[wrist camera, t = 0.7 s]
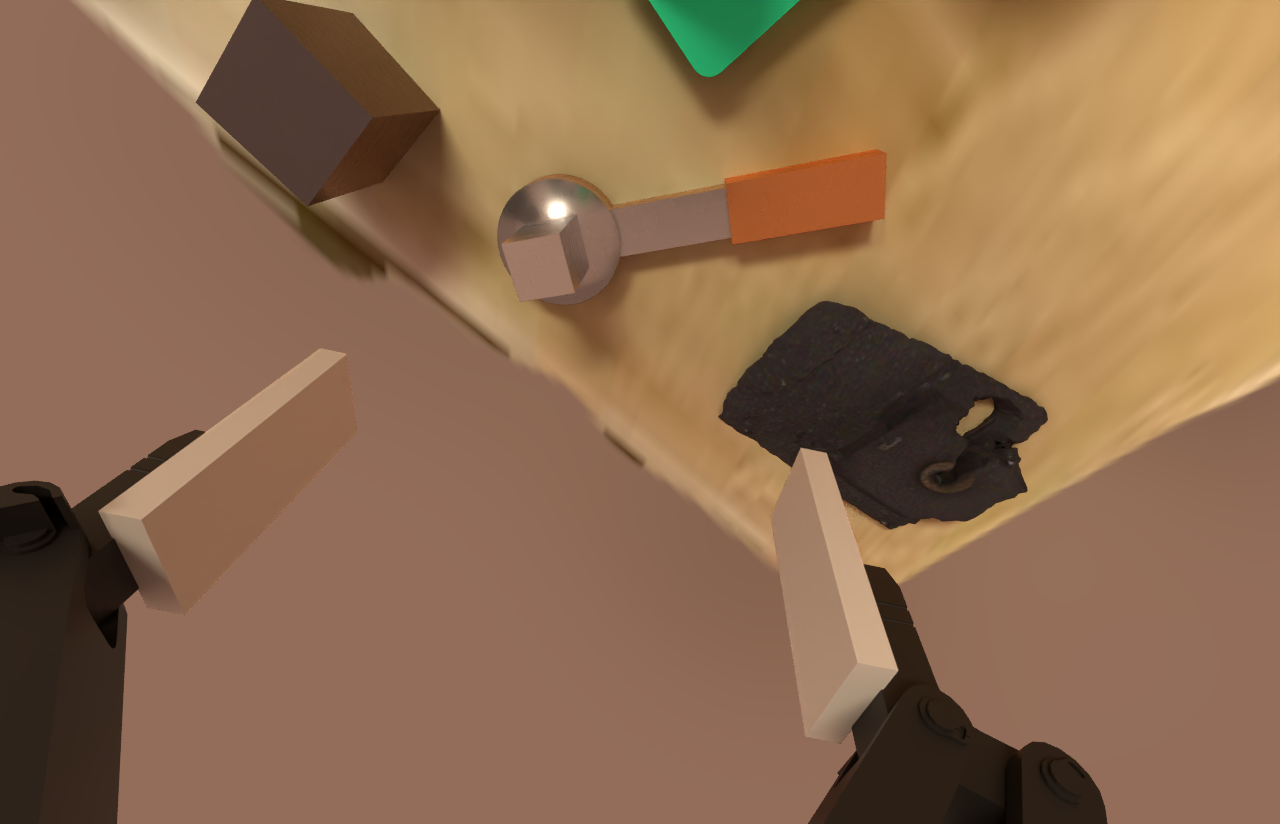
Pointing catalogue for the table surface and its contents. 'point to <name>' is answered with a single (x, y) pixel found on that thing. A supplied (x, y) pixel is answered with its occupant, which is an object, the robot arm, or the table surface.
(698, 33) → the camera mount
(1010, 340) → the table surface
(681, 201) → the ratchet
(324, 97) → the brushed brown cube
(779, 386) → the dark slate chunk
